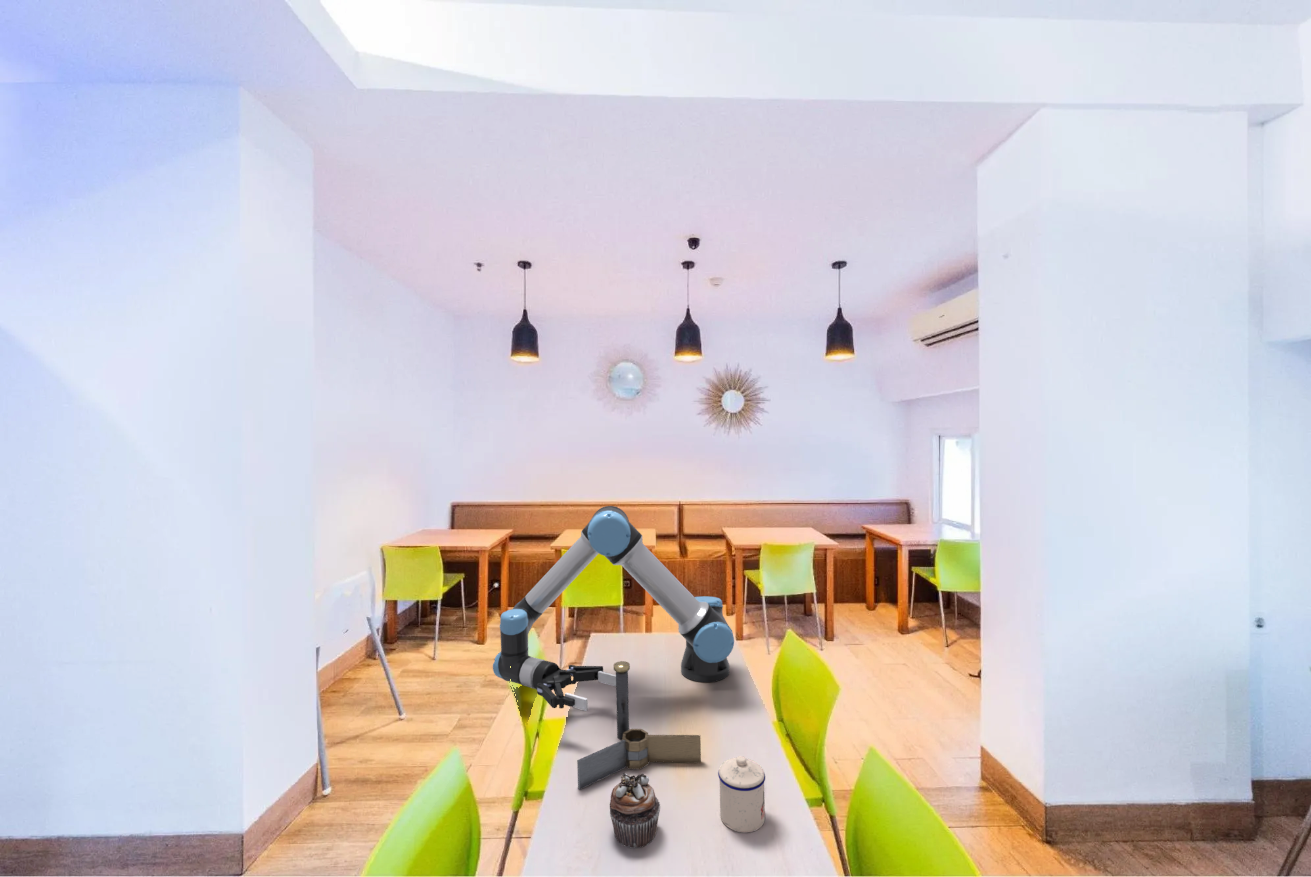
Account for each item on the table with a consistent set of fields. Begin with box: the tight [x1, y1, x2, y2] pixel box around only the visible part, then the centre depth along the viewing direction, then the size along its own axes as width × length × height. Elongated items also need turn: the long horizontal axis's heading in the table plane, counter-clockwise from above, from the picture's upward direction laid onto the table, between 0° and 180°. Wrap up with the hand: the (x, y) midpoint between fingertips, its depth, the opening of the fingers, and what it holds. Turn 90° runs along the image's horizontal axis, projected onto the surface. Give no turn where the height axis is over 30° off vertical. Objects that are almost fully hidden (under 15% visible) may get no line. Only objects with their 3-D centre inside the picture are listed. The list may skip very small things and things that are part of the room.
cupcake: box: [609, 771, 661, 849], centre depth 101 cm, size 10×10×10 cm
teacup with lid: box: [717, 755, 766, 833], centre depth 106 cm, size 12×9×12 cm
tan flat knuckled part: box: [621, 728, 702, 770], centre depth 123 cm, size 18×6×6 cm, turn 87°
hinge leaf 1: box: [576, 738, 648, 790], centre depth 119 cm, size 18×6×6 cm, turn 127°
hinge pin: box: [613, 660, 631, 741], centre depth 133 cm, size 4×4×18 cm
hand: (603, 692), depth 135 cm, fingers open, 13 cm apart
